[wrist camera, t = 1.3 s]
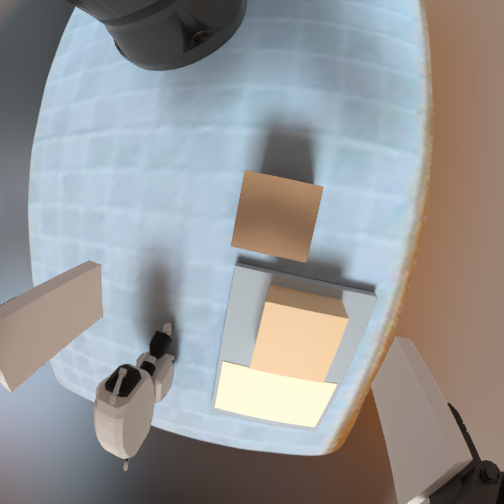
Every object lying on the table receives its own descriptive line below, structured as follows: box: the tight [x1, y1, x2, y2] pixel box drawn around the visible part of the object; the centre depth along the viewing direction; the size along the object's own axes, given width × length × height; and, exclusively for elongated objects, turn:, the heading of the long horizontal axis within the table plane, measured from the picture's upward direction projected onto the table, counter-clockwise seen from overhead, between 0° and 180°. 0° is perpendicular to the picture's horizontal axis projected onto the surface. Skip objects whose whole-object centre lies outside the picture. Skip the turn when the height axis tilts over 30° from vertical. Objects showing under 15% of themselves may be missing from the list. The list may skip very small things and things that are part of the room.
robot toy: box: [94, 323, 174, 471], centre depth 24 cm, size 12×4×15 cm, turn 167°
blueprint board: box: [210, 262, 378, 431], centre depth 26 cm, size 20×14×5 cm
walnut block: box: [231, 170, 323, 263], centre depth 21 cm, size 5×5×8 cm
